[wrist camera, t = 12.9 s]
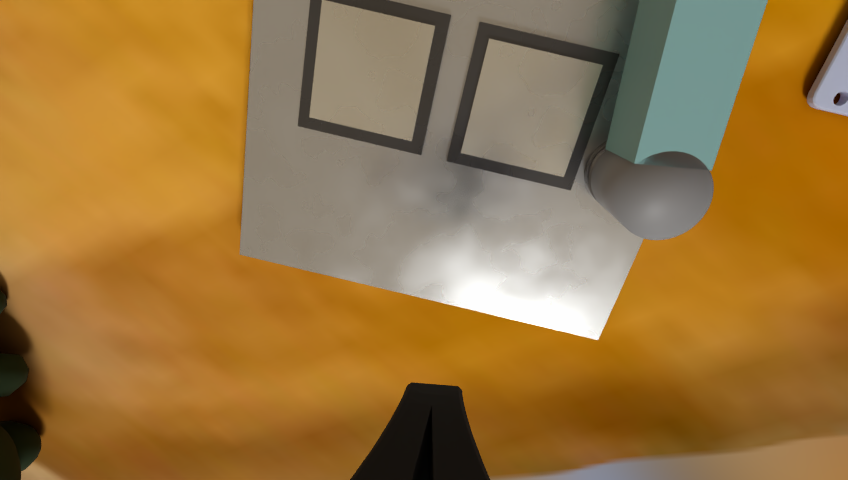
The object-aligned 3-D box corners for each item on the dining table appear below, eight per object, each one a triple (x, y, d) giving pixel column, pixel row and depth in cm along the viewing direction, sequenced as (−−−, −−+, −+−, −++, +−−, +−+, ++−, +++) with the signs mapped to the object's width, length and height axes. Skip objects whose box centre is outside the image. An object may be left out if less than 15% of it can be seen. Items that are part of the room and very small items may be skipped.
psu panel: (749, -32, 15) (783, -45, 14) (592, 328, 21) (603, 349, 20) (274, -142, 16) (251, -168, 14) (249, 246, 21) (231, 260, 20)
